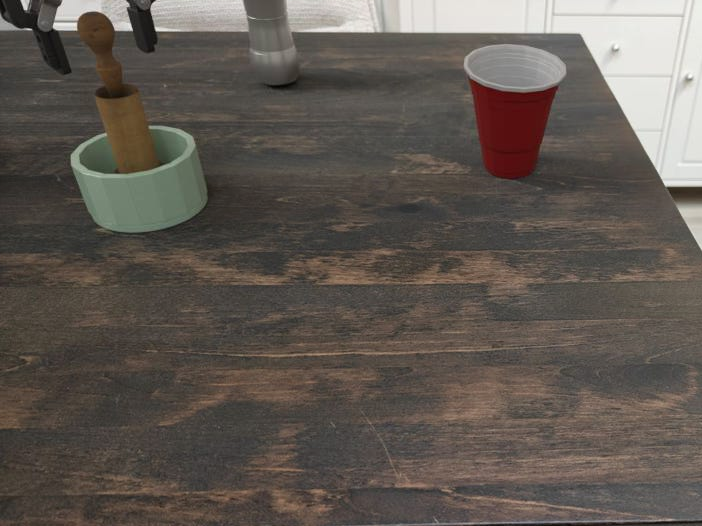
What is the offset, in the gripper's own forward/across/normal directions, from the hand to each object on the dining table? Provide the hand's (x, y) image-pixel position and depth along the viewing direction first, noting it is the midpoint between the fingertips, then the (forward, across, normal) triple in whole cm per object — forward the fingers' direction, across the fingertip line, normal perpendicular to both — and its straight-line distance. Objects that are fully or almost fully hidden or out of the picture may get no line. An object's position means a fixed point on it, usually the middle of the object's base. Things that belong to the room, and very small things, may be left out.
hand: (106, 61), depth 68 cm
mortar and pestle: (+14, 0, 0) cm, 14 cm away
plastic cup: (+15, -33, +21) cm, 42 cm away
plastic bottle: (+15, -29, -19) cm, 38 cm away
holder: (+15, 0, 0) cm, 15 cm away
